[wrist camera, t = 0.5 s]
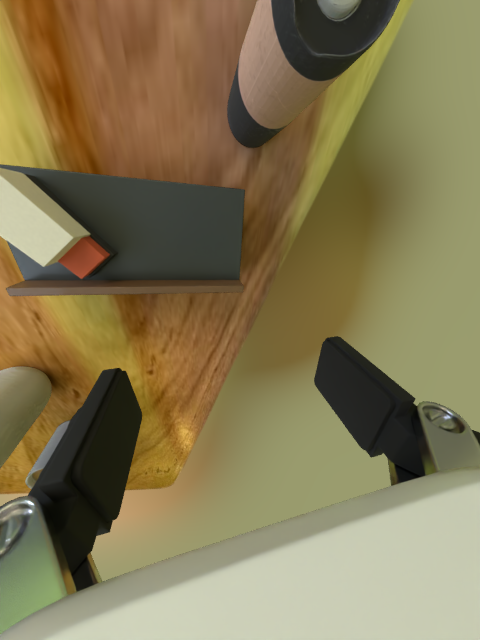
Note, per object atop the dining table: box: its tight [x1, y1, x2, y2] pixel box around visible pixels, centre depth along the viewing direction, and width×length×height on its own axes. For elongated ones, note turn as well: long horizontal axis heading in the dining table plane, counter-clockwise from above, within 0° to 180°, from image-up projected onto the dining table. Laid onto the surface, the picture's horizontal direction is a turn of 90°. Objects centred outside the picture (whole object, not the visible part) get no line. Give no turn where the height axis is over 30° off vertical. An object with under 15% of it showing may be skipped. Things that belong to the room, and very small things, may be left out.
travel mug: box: [227, 0, 400, 148], centre depth 19 cm, size 8×8×20 cm
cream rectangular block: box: [0, 168, 118, 279], centre depth 21 cm, size 10×5×6 cm, turn 37°
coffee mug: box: [26, 421, 70, 489], centre depth 44 cm, size 13×10×10 cm
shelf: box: [0, 164, 245, 296], centre depth 27 cm, size 13×28×10 cm, turn 87°
